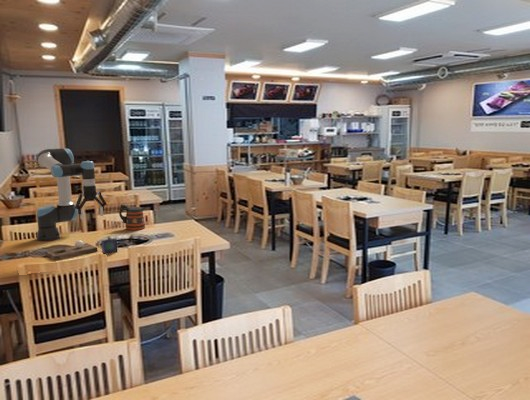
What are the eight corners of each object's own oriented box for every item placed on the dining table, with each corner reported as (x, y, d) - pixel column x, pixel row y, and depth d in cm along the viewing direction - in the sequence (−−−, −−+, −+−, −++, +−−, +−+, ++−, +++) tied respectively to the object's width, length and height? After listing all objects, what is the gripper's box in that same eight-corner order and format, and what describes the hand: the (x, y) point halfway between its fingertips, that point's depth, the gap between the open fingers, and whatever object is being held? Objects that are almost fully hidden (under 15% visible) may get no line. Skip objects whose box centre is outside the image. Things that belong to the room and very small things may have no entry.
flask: (102, 254, 259) (101, 237, 257) (101, 253, 261) (100, 236, 260) (117, 252, 263) (116, 236, 261) (117, 251, 265) (116, 235, 264)
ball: (74, 247, 265) (73, 240, 264) (81, 246, 268) (81, 238, 267) (77, 249, 261) (76, 241, 260) (85, 247, 265) (84, 240, 264)
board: (45, 255, 258) (45, 251, 257) (87, 246, 276) (86, 243, 276) (55, 260, 247) (54, 256, 246) (97, 251, 265) (97, 247, 265)
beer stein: (119, 231, 317) (118, 206, 314) (120, 227, 331) (118, 203, 328) (145, 229, 323) (143, 204, 319) (145, 225, 336) (143, 201, 333)
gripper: (71, 187, 254) (75, 221, 257) (110, 183, 271) (112, 215, 274) (67, 186, 259) (70, 219, 262) (105, 182, 276) (107, 214, 280)
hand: (92, 217), depth 268 cm, fingers open, 12 cm apart
